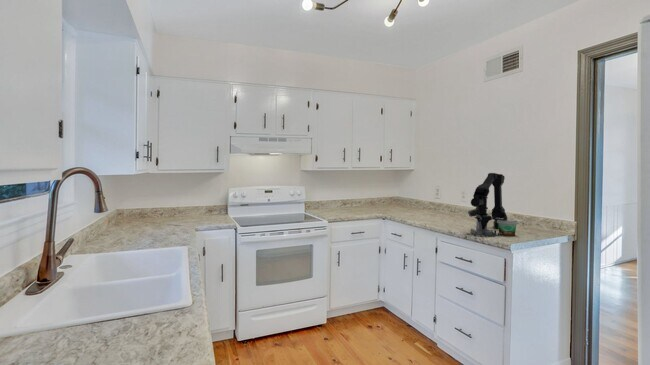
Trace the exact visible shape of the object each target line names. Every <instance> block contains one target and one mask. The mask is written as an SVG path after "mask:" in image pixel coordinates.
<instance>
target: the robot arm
mask: <svg viewBox="0 0 650 365" xmlns="http://www.w3.org/2000/svg"><path fill="white" fill-rule="evenodd" d="M505 179H506V178H505V175H503V174H501V173H496V172H489V173H487V176H486V178H485V179H484V181H483V183H482V184H478V185H477V187H475V190H474V192H473V196H472V197H473V198H472V199H471V200H470V205H471V206H472V207H475V208H474V209H472V210H468V211H467V213H468V215H469V217H474V218H475V219H476V221H481V225H482V229H483V230H484V229H485V227H486V225H487V226H488V223H489V222H490V221H493V226H492V228H494V229H497V230H498V223H497V221H498V220H502V221H508V216H507V213H506V209H505V208H504V206H503V198H502V197H503V196H502V195H503V192H502V191H503V190H502V186H503V184H505V183H504V182H505ZM491 186H493V198H494V202H493V203H494V206H493V208H492V209H491V214H490V215H489V214H488V212H487V211H488V209H489V208H488V199H489V198H488V196H489V194H490V187H491Z"/></svg>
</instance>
